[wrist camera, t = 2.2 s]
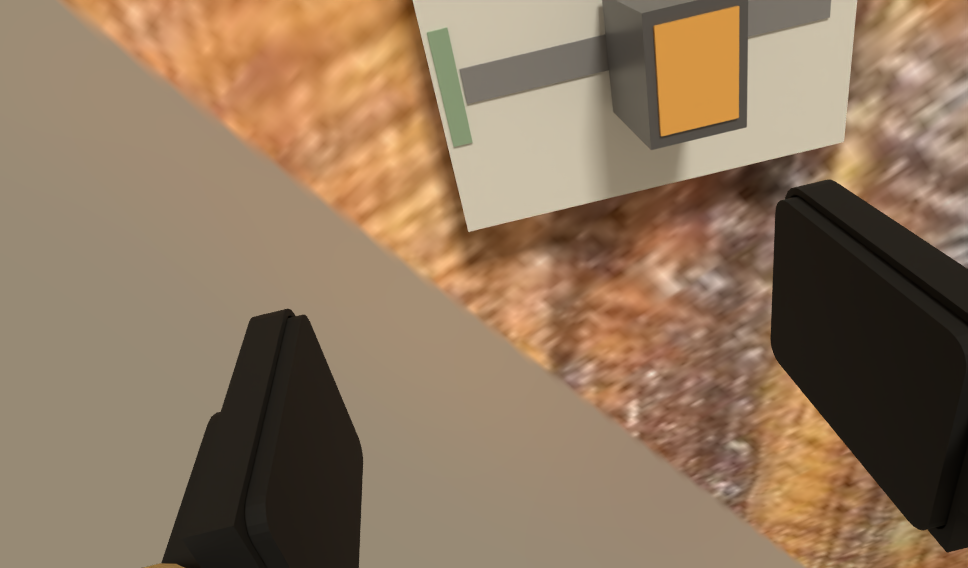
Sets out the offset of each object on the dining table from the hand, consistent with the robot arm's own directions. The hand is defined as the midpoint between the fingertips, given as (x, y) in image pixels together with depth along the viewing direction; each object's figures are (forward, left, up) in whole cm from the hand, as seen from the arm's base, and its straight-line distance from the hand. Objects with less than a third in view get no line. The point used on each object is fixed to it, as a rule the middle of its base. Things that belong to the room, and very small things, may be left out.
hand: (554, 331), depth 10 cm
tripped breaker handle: (-7, 0, -14) cm, 16 cm away
